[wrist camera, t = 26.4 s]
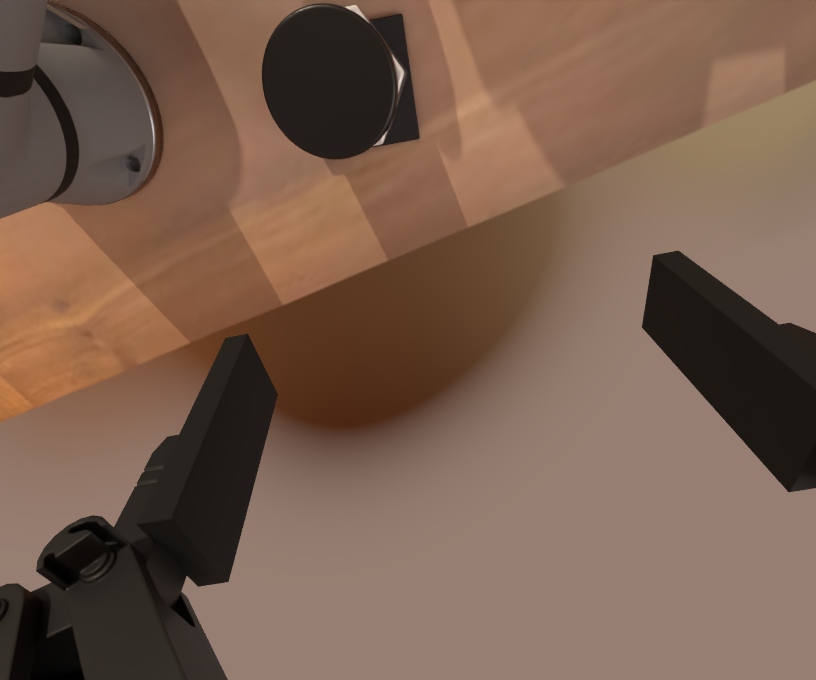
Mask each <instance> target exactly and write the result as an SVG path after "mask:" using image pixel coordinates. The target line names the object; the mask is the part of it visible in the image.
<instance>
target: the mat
mask: <svg viewBox="0 0 816 680" xmlns="http://www.w3.org/2000/svg"><path fill="white" fill-rule="evenodd" d="M370 21H371V22H372V23H373V25H374V26H375V27H376V29H377V30H378V31H379V33H380V34H381V36H382V37H383V38H384V40H385V41H386V43H387V44H388V45H389V47H390V48H391V49H392V51H393V52H394V54H395V55H396V56H397V58H398V59H399V61H400V62H401V63H402V65H403V66H404V67H405V69H406V70H407V77H406V80H405V83H404V87H403V90H402V93H401V97H400V100H399V103H398V106H397V110H396V113H395V116H394V119H393V123H392V126H391V129H390V131H389V133H388V135H387V137H386V138H385V140H384V142H383V144H381V145H376V146H372V147H377V146H383V145H388V144H394V143H399V142H405V141H411V140H416V139H419V131H418V124H417V117H416V109H415V102H414V95H413V88H412V81H411V74H410V66H409V59H408V52H407V45H406V38H405V31H404V23H403V16H402V14H398V15H394V16H389V17H384V18H379V19H375V20H370ZM372 147H370V148H372Z"/></svg>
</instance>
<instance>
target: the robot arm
mask: <svg viewBox="0 0 816 680" xmlns="http://www.w3.org/2000/svg"><path fill="white" fill-rule="evenodd" d="M162 149H163V129H162V122H161V116H160V112H159V109H158V105H157V103H156V100H155V97H154V95H153V92H152V90H151V88H150V86H149V84H148V82H147V80H146V78H145V77H144V75H143V73H142V72H141V70H140V69H139V67H138V66H137V64H136V63H135V61H134V60H133V59H132V57H131V56H130V55H129V54H128V53H127V51H126V50H125V49H124V48H123V47H122V46H121V45H120V44H119V43H118V42H117V41H116V40H115V39H114V38H113V37H112V36H111V35H110V34H108V33H107V32H106V31H105V30H104V29H102V28H101V27H100V26H98V25H97V24H95V23H94V22H92V21H91V20H89V19H88V18H86V17H84V16H82V15H80V14H78V13H76V12H74V11H72V10H69V9H67V8H64V7H61V6H58V5H53V4H48V0H0V218H3V217H6V216H9V215H11V214H14V213H17V212H20V211H22V210H25V209H28V208H30V207H33V206H36V205H38V204H41V203H44V202H55V203H66V204H78V205H104V204H110V203H114V202H117V201H119V200H122V199H124V198H127V197H129V196H131V195H133V194H135V193H137V192H138V191H140V190H141V189H143V188H144V187H145V186H146V185H147V184H148V183H149V181H150V180H151V179H152V177H153V176H154V174H155V173H156V170H157V168H158V166H159V163H160V160H161V155H162ZM642 328H643V329H644V330H645V331H646V332H647V334H648V335H649V336H650V337H651V338H652V339H653V340H654V341H655V342H656V344H657V345H658V346H659V347H660V348H661V349H662V350H663V352H664V353H665V354H666V355H667V356H668V357H669V358H670V359H671V360H672V362H673V363H674V364H675V365H676V366H677V367H678V368H679V369H680V370H681V372H682V373H683V374H684V375H685V376H686V377H687V378H688V380H690V382H691V383H692V384H693V385H694V386H695V387H696V389H697V390H698V391H699V392H700V393H701V394H702V395H703V396H704V398H705V399H706V400H707V401H708V402H709V403H710V404H711V405H712V406H713V408H714V409H715V410H716V411H717V412H718V413H719V414H720V416H721V417H722V418H723V419H724V420H725V421H726V422H727V423H728V424H729V426H730V427H731V428H732V429H733V430H734V431H735V432H736V434H737V435H738V436H739V437H740V438H741V439H742V440H743V441H744V442H745V444H746V445H747V446H748V447H749V448H750V449H751V450H752V452H754V454H755V455H756V456H757V457H758V458H759V459H760V461H761V462H763V464H764V465H765V466H766V467H767V468H768V470H769V471H770V472H771V473H772V474H773V475H774V476H775V477H776V479H777V480H778V481H779V482H780V483H781V484H782V485H783V486H784V487H785V489H786V490H787V491H788V492H793V491H800V490H806V489H812V488H816V333H814V332H811V331H809V330H807V329H804V328H802V327H799V326H796V325H794V324H792V323H786V324H780V325H779V324H777V323H776V322H775V321H773V320H772V319H770V318H769V317H768V316H766V315H765V314H764V313H762V312H761V311H760V310H758V309H757V308H755V307H754V306H753V305H751V304H750V303H749V302H747V301H746V300H745V299H743V298H742V297H741V296H739V295H738V294H736V293H735V292H734V291H732V290H731V289H730V288H728V287H727V286H726V285H724V284H723V283H722V282H720V281H719V280H718V279H716V278H715V277H713V276H712V275H711V274H709V273H708V272H707V271H705V270H704V269H703V268H701V267H700V266H698V265H697V264H696V263H694V262H693V261H692V260H690V259H689V258H688V257H686V256H685V255H684V254H682V253H681V252H680V251H674V252H669V253H663V254H658V255H653V260H652V267H651V273H650V279H649V286H648V292H647V298H646V305H645V311H644V317H643V324H642ZM277 395H278V394H277V392H276V390H275V388H274V386H273V384H272V382H271V380H270V378H269V376H268V374H267V372H266V370H265V368H264V366H263V363H262V362H261V360H260V358H259V356H258V353H257V351H256V349H255V347H254V346H253V344H252V341H251V339H250V337H249V335H248V334H244V335H239V336H234V337H229V338H225V340H224V342H223V344H222V346H221V349H220V351H219V353H218V355H217V357H216V359H215V361H214V363H213V365H212V367H211V369H210V372H209V374H208V376H207V378H206V380H205V382H204V384H203V386H202V388H201V390H200V392H199V395H198V397H197V399H196V401H195V403H194V405H193V407H192V409H191V411H190V413H189V415H188V417H187V420H186V422H185V424H184V426H183V428H182V430H181V432H180V434H179V435H174V436H170V437H167V438H166V439H165V440H164V441H163V442H162V443H161V444H160V446H159V447H158V448H157V449H156V450H155V451H154V452H153V453H152V455H151V457H150V459H149V461H148V463H147V465H146V467H145V469H144V470H145V472H144V473H142V475H141V477H140V478H139V480H138V482H137V486H136V487H135V488H134V490H133V492H132V494H131V496H130V497H129V499H128V501H127V504H126V505H125V507H124V509H123V511H122V513H121V515H120V517H119V519H118V521H117V523H116V524H115V526H114V527H113V526H111V525H110V524H109V523H108V522H107V521H106V520H105V519H104V518H103V517H101V516H89V517H86V518H82V519H79V520H77V521H76V522H74V523H72V524H70V525H68V526H67V527H65V528H64V529H63V530H62V531H60V532H59V533H58V534H57V535H55V536H54V538H53V539H52V540H51V541H50V542H49V543H48V544H47V545H46V547H45V548H44V550H43V551H42V553H41V555H40V557H39V559H38V561H37V569H36V571H37V572H38V573H39V574H41V575H42V576H44V577H45V578H46V579H48V580H49V581H51V582H52V583H50V584H48V585H45V586H43V587H41V588H39V589H37V590H34V591H32V592H30V591H28V590H27V589H25V588H24V587H22V586H21V585H19V584H6V585H3V586H1V587H0V680H227V677H226V675H225V673H224V671H223V669H222V667H221V665H220V663H219V661H218V659H217V657H216V655H215V653H214V651H213V649H212V647H211V645H210V643H209V641H208V639H207V637H206V635H205V633H204V631H203V629H202V627H201V625H200V623H199V621H198V619H197V616H196V614H195V612H194V610H193V608H192V606H191V604H190V602H189V600H188V598H187V597H186V596H185V595H184V594H183V593H182V592H181V590H182V587H183V584H184V582H185V579H186V576H188V577H189V578H190V579H191V580H192V581H193V582H194V583H195V584H196V585H197V586H198V587H199V586H205V585H212V584H218V583H224V582H228V581H229V578H230V574H231V570H232V566H233V562H234V559H235V555H236V551H237V547H238V543H239V540H240V536H241V532H242V528H243V524H244V521H245V517H246V513H247V509H248V505H249V502H250V498H251V494H252V490H253V486H254V483H255V479H256V475H257V471H258V467H259V464H260V460H261V456H262V452H263V449H264V445H265V441H266V437H267V433H268V430H269V426H270V422H271V418H272V414H273V411H274V407H275V403H276V399H277Z"/></svg>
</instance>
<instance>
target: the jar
mask: <svg viewBox="0 0 816 680" xmlns="http://www.w3.org/2000/svg"><path fill="white" fill-rule="evenodd" d="M406 77H407V70H406V69H405V67H404V66H403V65H402V63H401V62H400V61H399V59H398V58H397V56H396V55H395V54H394V52H393V51H392V49H391V48H390V47H389V45H388V44H387V43H386V41H385V40H384V38H383V37H382V36H381V34H380V33H379V31H378V30H377V29H376V27H375V26H374V25H373V23H372V22H371V21H370V20H369V19H368V18H367V16H366V15H365V14H364V13H363V12H362V11H361V10H360V9H359V8H358V7H357V6H356V5H352V6H348V7H342V6H338V5H334V4H325V3H321V4H312V5H308V6H305V7H302V8H300V9H298V10H296V11H294V12H292V13H291V14H290V15H288V16H287V17H286V18H285V19H284V20H283V21H282V22H281V23H280V24H279V25H278V26H277V28H276V29H275V30H274V32H273V34H272V35H271V37H270V39H269V41H268V44H267V47H266V50H265V53H264V58H263V64H262V84H263V91H264V96H265V99H266V103H267V106H268V108H269V111H270V113H271V115H272V117H273V119H274V121H275V122H276V124H277V125H278V127H279V128H280V130H281V131H282V132H283V133H284V134H285V136H286V137H287V138H288V139H289V140H290V141H292V142H293V143H294V144H295V145H296V146H298V147H299V148H301V149H302V150H304V151H306V152H308V153H310V154H312V155H315V156H318V157H321V158H326V159H345V158H350V157H353V156H356V155H359V154H361V153H363V152H365V151H366V150H369V149H370V147H372V146H376V145H381V144H383V142H384V140H385V138H386V137H387V135H388V133H389V131H390V129H391V126H392V123H393V119H394V116H395V113H396V110H397V106H398V103H399V100H400V97H401V93H402V90H403V87H404V83H405V80H406Z"/></svg>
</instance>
